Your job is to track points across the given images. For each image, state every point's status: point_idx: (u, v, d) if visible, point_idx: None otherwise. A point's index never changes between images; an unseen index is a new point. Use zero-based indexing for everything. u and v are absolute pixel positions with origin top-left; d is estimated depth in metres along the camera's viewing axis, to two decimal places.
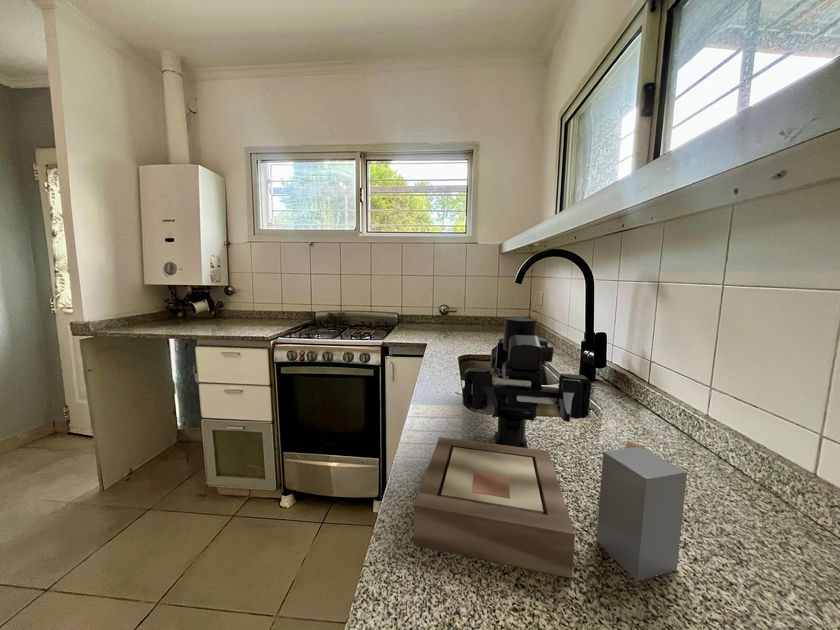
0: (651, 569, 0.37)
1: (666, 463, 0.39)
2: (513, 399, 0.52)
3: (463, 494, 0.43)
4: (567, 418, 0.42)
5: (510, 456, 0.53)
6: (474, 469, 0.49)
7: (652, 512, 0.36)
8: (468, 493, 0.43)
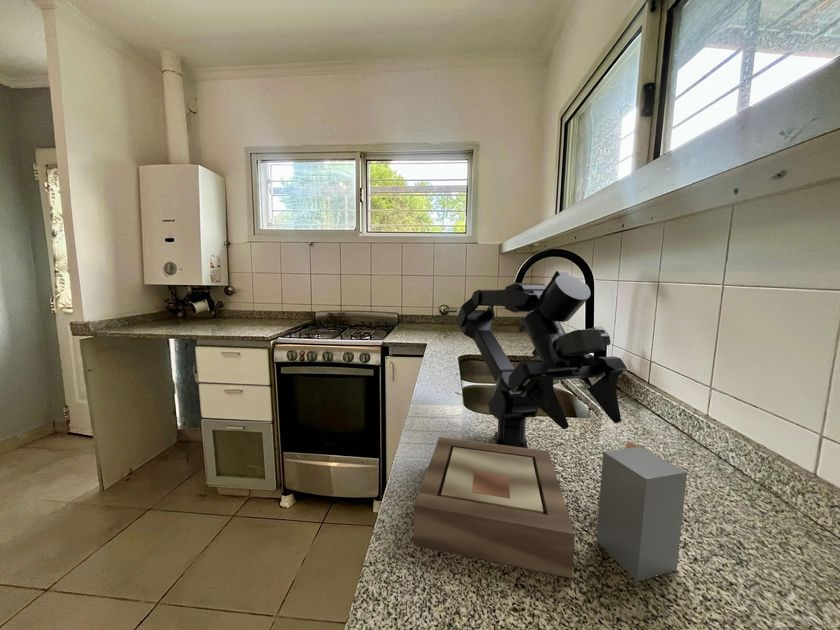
0: (651, 569, 0.37)
1: (666, 463, 0.39)
2: None
3: (463, 494, 0.43)
4: (617, 422, 0.48)
5: (510, 456, 0.53)
6: (474, 469, 0.49)
7: (652, 513, 0.36)
8: (468, 493, 0.43)
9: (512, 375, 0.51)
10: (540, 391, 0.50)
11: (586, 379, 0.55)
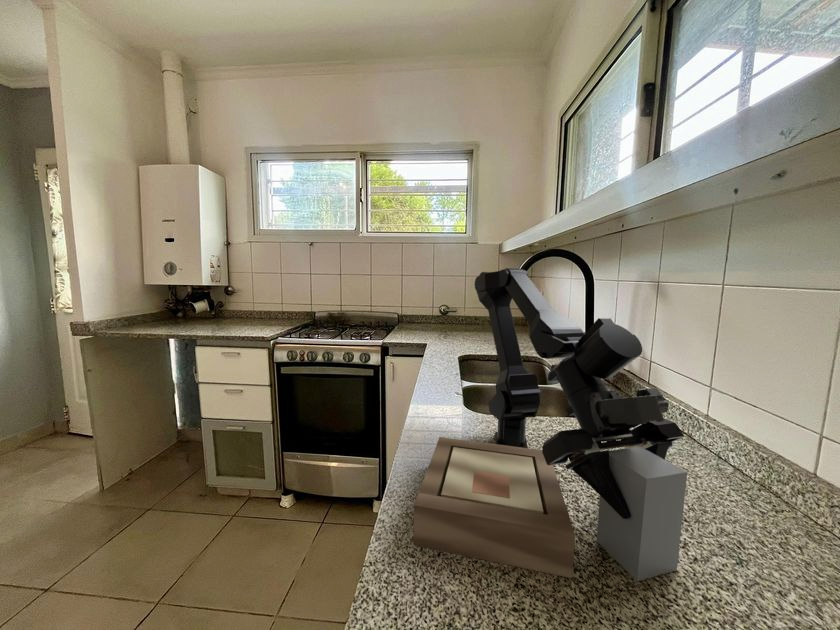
0: (651, 569, 0.37)
1: (666, 463, 0.39)
2: None
3: (463, 494, 0.43)
4: None
5: (510, 456, 0.53)
6: (474, 469, 0.49)
7: (652, 512, 0.36)
8: (468, 493, 0.43)
9: (548, 446, 0.42)
10: (591, 466, 0.41)
11: None
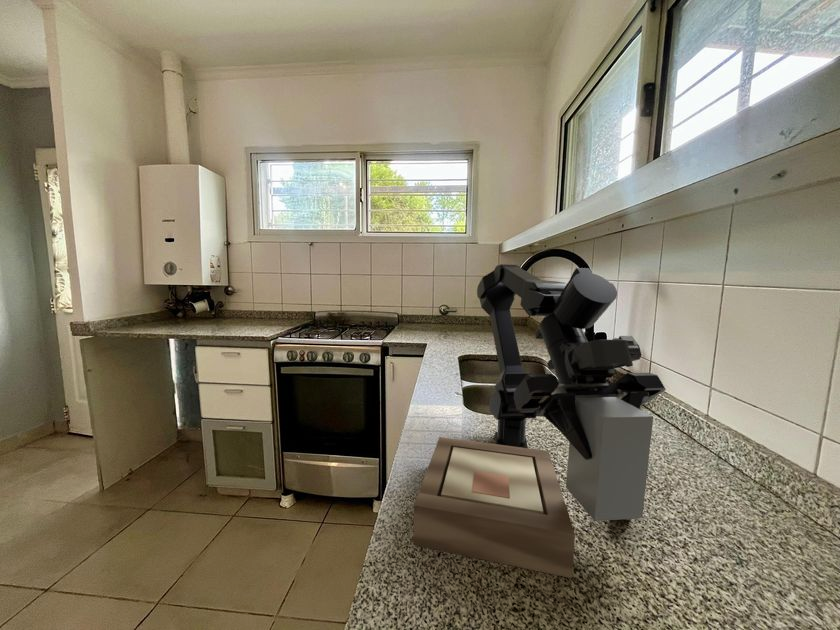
0: (611, 511, 0.37)
1: (635, 409, 0.38)
2: None
3: (463, 494, 0.43)
4: None
5: (510, 456, 0.53)
6: (474, 469, 0.49)
7: (611, 453, 0.36)
8: (468, 493, 0.43)
9: (517, 390, 0.43)
10: (560, 411, 0.42)
11: None
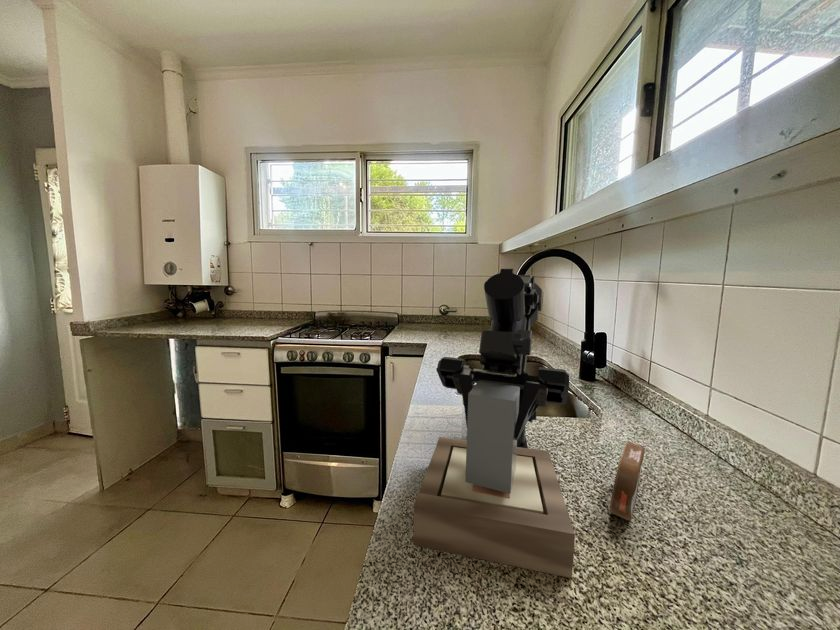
0: (480, 478, 0.43)
1: (512, 395, 0.42)
2: None
3: (463, 494, 0.43)
4: (515, 438, 0.42)
5: None
6: None
7: (477, 426, 0.43)
8: (468, 493, 0.43)
9: None
10: None
11: None
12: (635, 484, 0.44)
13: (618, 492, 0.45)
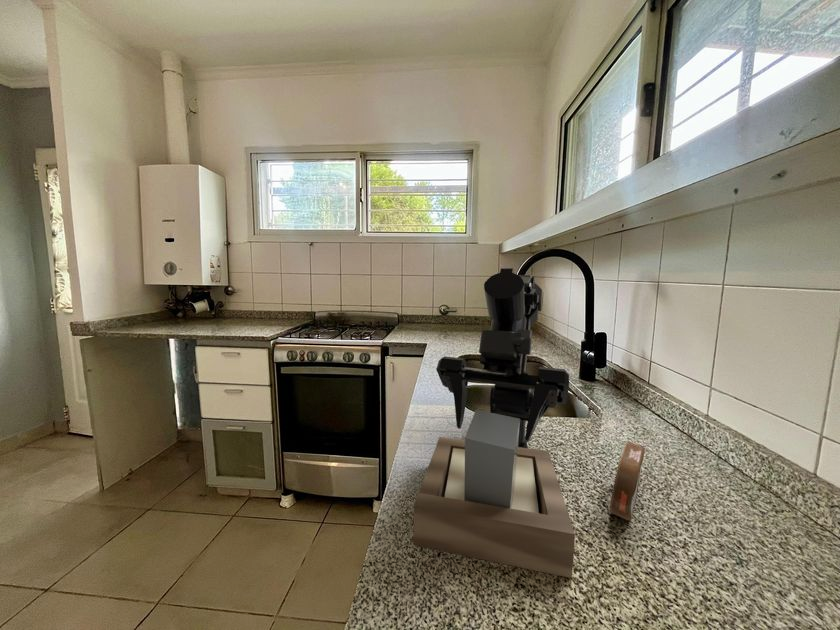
0: None
1: (511, 437, 0.40)
2: None
3: None
4: (526, 440, 0.42)
5: None
6: None
7: (474, 467, 0.41)
8: None
9: None
10: None
11: None
12: (635, 484, 0.44)
13: (618, 492, 0.45)
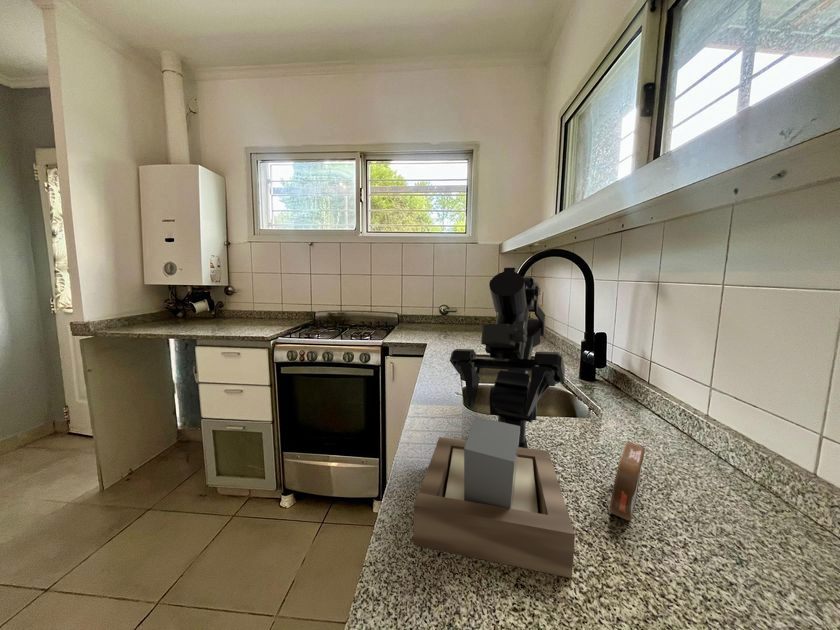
0: None
1: (511, 447, 0.39)
2: None
3: None
4: (526, 415, 0.49)
5: None
6: None
7: (474, 476, 0.41)
8: None
9: None
10: None
11: None
12: (635, 484, 0.44)
13: (618, 492, 0.45)
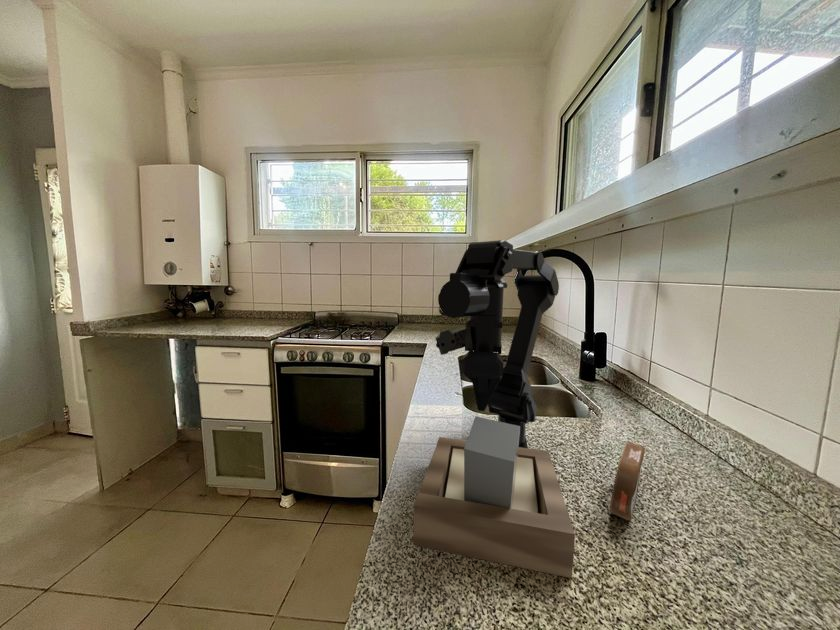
0: None
1: (511, 447, 0.39)
2: None
3: None
4: None
5: None
6: None
7: (474, 476, 0.41)
8: None
9: None
10: None
11: None
12: (635, 484, 0.44)
13: (618, 492, 0.45)
